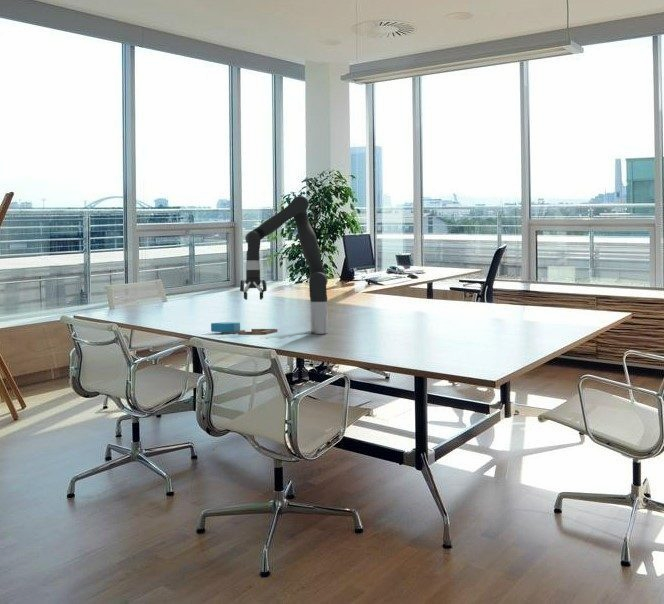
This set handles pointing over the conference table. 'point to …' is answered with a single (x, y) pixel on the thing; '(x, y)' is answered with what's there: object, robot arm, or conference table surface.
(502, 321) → the conference table surface
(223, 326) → the data package
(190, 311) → the conference table surface
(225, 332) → the rubber mat
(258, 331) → the brown wooden frame
